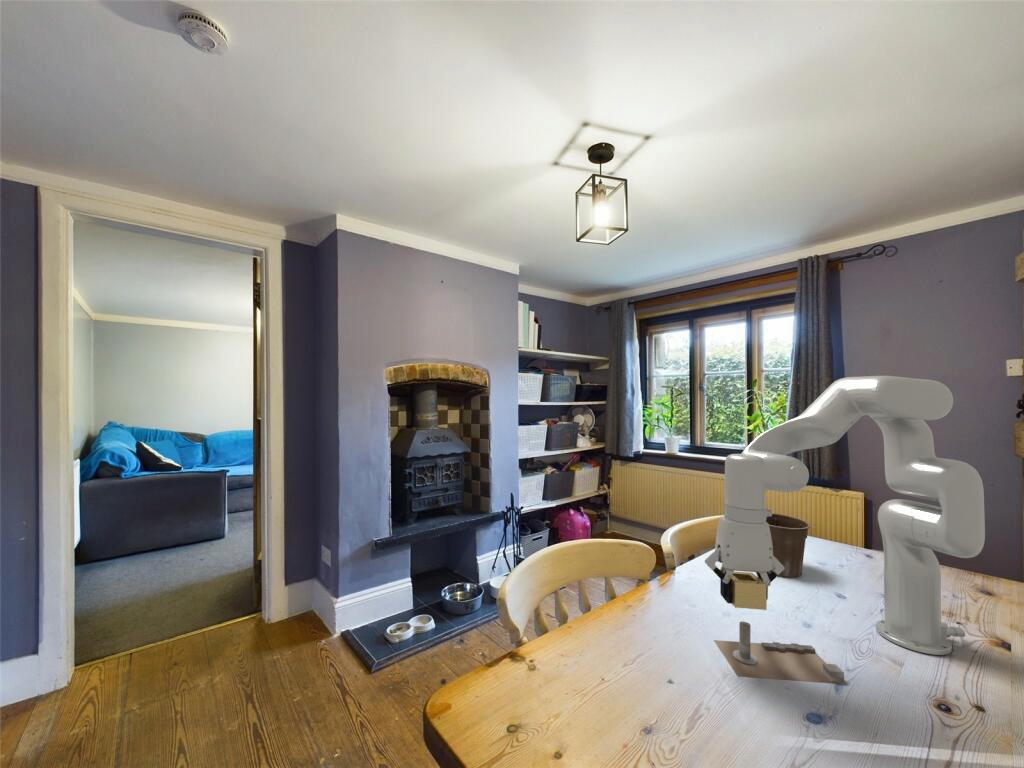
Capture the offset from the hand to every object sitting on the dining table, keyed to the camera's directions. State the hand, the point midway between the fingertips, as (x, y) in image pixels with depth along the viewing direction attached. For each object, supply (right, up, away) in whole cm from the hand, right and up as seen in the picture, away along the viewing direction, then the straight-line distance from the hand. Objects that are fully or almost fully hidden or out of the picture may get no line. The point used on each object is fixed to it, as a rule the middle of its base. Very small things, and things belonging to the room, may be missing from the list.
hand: (743, 600), depth 87 cm
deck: (+6, -13, -1) cm, 15 cm away
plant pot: (+38, -15, +47) cm, 62 cm away
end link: (0, 0, 0) cm, 0 cm away
